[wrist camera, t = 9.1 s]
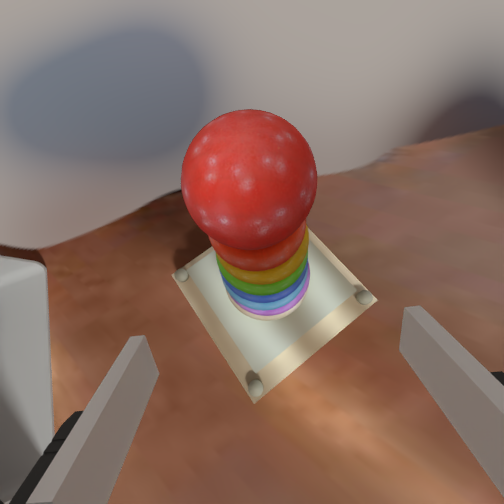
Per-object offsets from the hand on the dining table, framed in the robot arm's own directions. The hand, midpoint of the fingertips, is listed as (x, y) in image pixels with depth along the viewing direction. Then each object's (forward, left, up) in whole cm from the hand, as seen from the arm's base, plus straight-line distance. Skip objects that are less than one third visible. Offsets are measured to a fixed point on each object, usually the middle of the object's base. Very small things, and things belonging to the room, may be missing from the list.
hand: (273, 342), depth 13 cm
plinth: (-3, -5, -16) cm, 18 cm away
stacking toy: (-3, -5, -11) cm, 12 cm away
